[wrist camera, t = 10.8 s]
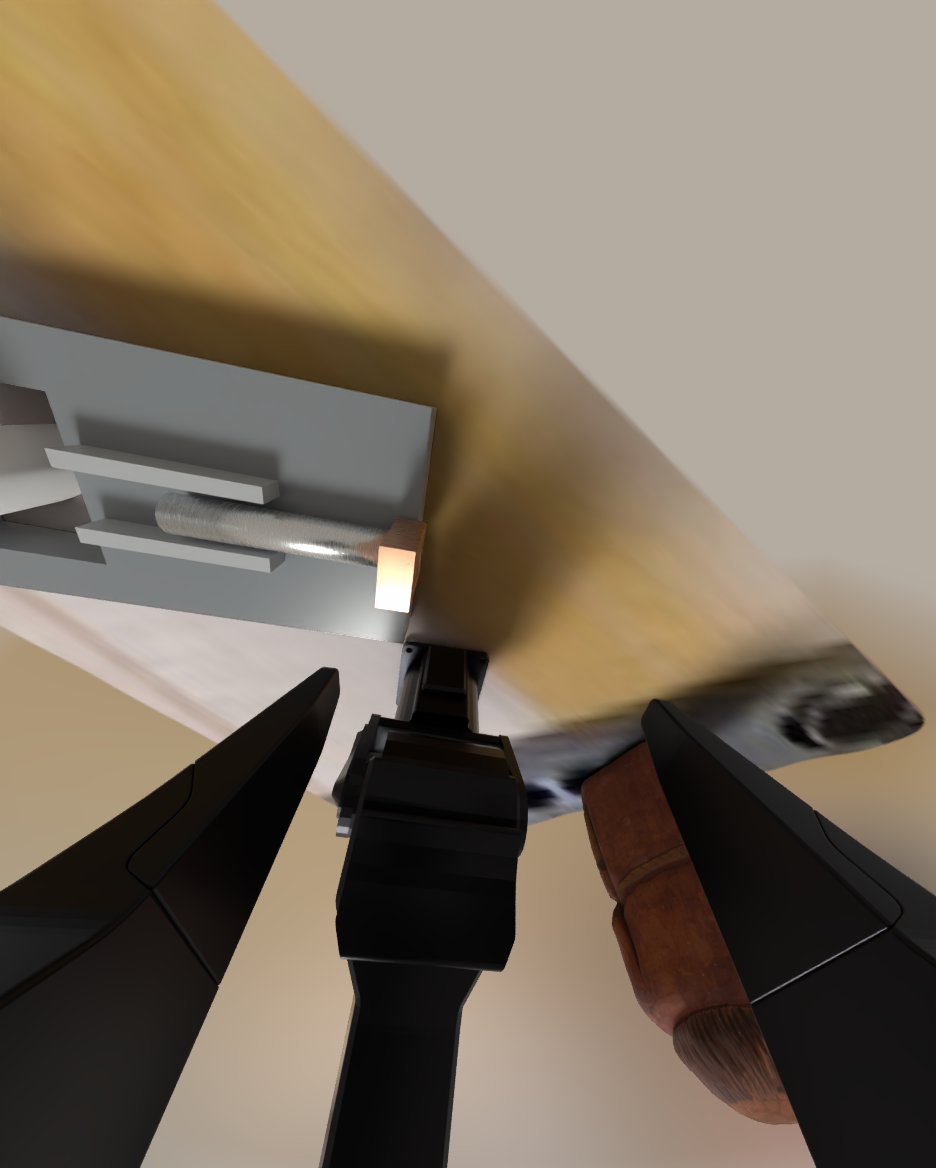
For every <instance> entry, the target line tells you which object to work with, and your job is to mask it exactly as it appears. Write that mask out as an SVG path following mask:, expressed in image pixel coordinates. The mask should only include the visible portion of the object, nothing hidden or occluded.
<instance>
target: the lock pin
mask: <svg viewBox="0 0 936 1168" xmlns="http://www.w3.org/2000/svg"><path fill="white" fill-rule="evenodd" d="M155 517H156V521H157V524H158V526H159V527H160V528H161V529H162V530H163V531H164V532H166V533H168V534H174V535H180V536H186V537H192V538H198V539H204V540H210V541H216V542H222V543H228V544H234V545H241V546H247V547H253V548H259V549H265V550H271V551H277V552H283V553H289V554H295V555H301V556H307V557H313V558H319V559H325V560H332V561H338V562H344V563H350V564H356V565H362V566H368V567H374V568H378V570H377V585H376V601H375V608H382V609H388V610H395V611H401V612H409V609H410V605H411V602H412V599H413V595H414V592H415V588H416V585H417V581H418V578H419V574H420V567H421V560H422V553H423V546H424V537H425V530H426V522H422V521H416V520H410V519H405V518H399V517H397V519H396V520H395V522H394V523H393V525H392V526H391V528H390V530H386V529H380V528H374V527H369V526H363V525H357V524H352V523H346V522H340V521H334V520H329V519H323V518H317V517H312V516H306V515H300V514H295V513H289V512H283V511H277V510H272V509H266V508H260V507H255V506H249V505H243V504H238V503H232V502H226V501H220V500H215V499H209V498H203V497H198V496H192V495H186V494H181V493H175V492H170V493H166V494H165V495H163V496H162V497H161V498H160V499H159V501H158V503H157V505H156V509H155Z"/></svg>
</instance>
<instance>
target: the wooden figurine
mask: <svg viewBox="0 0 936 1168" xmlns="http://www.w3.org/2000/svg"><path fill="white" fill-rule="evenodd" d="M581 796H582V803H583V810H584V818H585V822H586V827H587V830H588V835H589V840H590V844H591V848H592V851H593V854H594V857H595V860H596V863H597V867H598V869H599V871H600V875H601V878H602V880H603V882H604V885H605V887H606V889H607V892H608V893H609V896H610V898H612V899H613V900H615V901H616V902H617V905H616V907H615V909H614V911H613V917H612V927H613V930H614V933H615V935H616V938H617V941H618V944H619V947H620V950H621V954H622V957H623V960H624V963H625V966H626V970H627V972H628V975H629V978H630V981H631V983H632V986H633V990H634V993H635V996H636V999H637V1001H638V1003H639V1005H640V1006H641V1008H642V1009H643V1011H644V1012H645V1013H646V1015H647V1016H648V1017H649V1018H650V1019H651V1020H652V1021H653V1022H654V1023H655V1024H656V1025H657V1026H658V1027H659V1028H661V1029H662V1030H663V1031H664V1032H666V1033H668V1034H669V1035H671V1036H672V1037H673V1044H674V1049H675V1052H676V1053H677V1055H678V1056H679V1058H680V1059H681V1060H682V1061H683V1063H684V1064H685V1065H686V1066H687V1067H688V1068H689V1070H690V1071H692V1072H693V1073H694V1074H695V1075H696V1076H697V1077H698V1078H699V1079H700V1081H701V1082H702V1083H703V1084H704V1085H705V1086H706V1087H707V1088H708V1089H709V1090H710V1091H711V1092H712V1093H713V1094H714V1095H715V1096H716V1097H718V1098H719V1099H721V1100H722V1101H723V1102H725V1103H726V1104H728V1105H729V1106H730V1107H731V1108H733V1109H734V1110H735V1111H737V1112H739V1113H740V1114H742V1115H744V1116H746V1117H749V1118H751V1119H753V1120H756V1121H758V1122H762V1123H766V1124H773V1125H777V1124H796V1123H798V1122H797V1119H796V1117H795V1114H794V1112H793V1109H792V1107H791V1104H790V1102H789V1100H788V1097H787V1095H786V1092H785V1090H784V1087H783V1085H782V1082H781V1080H780V1078H779V1075H778V1073H777V1070H776V1068H775V1065H774V1063H773V1060H772V1058H771V1055H770V1053H769V1051H768V1048H767V1046H766V1043H765V1041H764V1038H763V1036H762V1033H761V1031H760V1029H759V1026H758V1024H757V1021H756V1019H755V1016H754V1014H753V1011H752V1009H751V1006H750V1005H751V1004H750V1003H749V1001H748V999H747V996H746V994H745V991H744V989H743V986H742V984H741V981H740V979H739V977H738V974H737V972H736V969H735V967H734V964H733V962H732V959H731V957H730V955H729V952H728V950H727V947H726V945H725V942H724V940H723V937H722V935H721V932H720V930H719V928H718V925H717V923H716V920H715V918H714V915H713V913H712V910H711V908H710V906H709V903H708V901H707V898H706V896H705V893H704V891H703V888H702V886H701V884H700V881H699V879H698V876H697V874H696V871H695V869H694V866H693V864H692V861H691V859H690V857H689V854H688V852H687V849H686V847H685V844H684V842H683V839H682V837H681V835H680V832H679V830H678V827H677V825H676V822H675V820H674V817H673V815H672V813H671V810H670V808H669V805H668V803H667V800H666V798H665V795H664V793H663V790H662V788H661V785H660V783H659V780H658V777H657V774H656V771H655V768H654V765H653V762H652V758H651V755H650V752H649V748H648V745H647V742H643V743H641V744H639V745H637V746H636V747H634V748H632V749H631V750H630V751H628V752H626V753H625V754H623V755H622V756H621V757H620V758H618V759H616V760H615V761H614V762H612V763H611V764H609V765H608V766H606V767H604V768H603V769H601V770H600V771H598V772H596V773H595V774H594V775H592V776H590V777H589V778H587V779H586V780H584V781H583V783H582V786H581Z"/></svg>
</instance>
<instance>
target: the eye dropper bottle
mask: <svg viewBox="0 0 936 1168" xmlns="http://www.w3.org/2000/svg"><path fill="white" fill-rule="evenodd" d="M57 446H64V443H63V440H62V437H61V435H60V432H59V429H58V426H57V424H29V425H3V426H0V515H3V514H7V513H12V512H16V511H20V510H25V509H29V508H33V507H38V506H42V505H47V504H51V503H55V502H60V501H63V500H67V499H70V498H73V497H75V496H77V495H79V494H81V491H80V488H79V485H78V482H77V480H76V477H75V474H74V471H72V470H66V469H60V468H55V467H51V464H50V462H49V459H48V456H47V454H46V451H45V449H44V448H47V447H57Z"/></svg>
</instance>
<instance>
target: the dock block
mask: <svg viewBox="0 0 936 1168" xmlns="http://www.w3.org/2000/svg"><path fill="white" fill-rule="evenodd" d="M0 383H5V384H10V385H15V386H20V387H26V388H31V389H36V390H41V391H45V393H46V395H47V398H48V401H49V404H50V407H51V409H52V412H53V415H54V418H55V421H56V423H57V426H58V429H59V432H60V435H61V437H62V440H63V443H64V446H57V447H47V448H44V449H45V451H46V454H47V456H48V459H49V462H50V464H51V467H55V468H60V469H66V470H72V471H74V474H75V477H76V480H77V482H78V485H79V488H80V491H81V494H82V496H83V499H84V502H85V505H86V508H87V510H88V513H89V516H90V519H91V522H90V523H87V524H84V525H80V526H77V527H75V529H76V532H77V533H74V532H68V531H62V530H56V529H50V528H43V527H37V526H31V525H25V524H19V523H12V522H6V521H4V519H3V517H2V515H0V585H4V586H10V587H17V588H24V589H31V590H38V591H45V592H52V593H59V594H65V595H72V596H79V597H86V598H93V599H100V600H107V601H113V602H120V603H127V604H134V605H141V606H148V607H155V608H161V609H168V610H175V611H182V612H189V613H196V614H203V615H209V616H216V617H223V618H230V619H237V620H244V621H251V622H257V623H264V624H271V625H278V626H285V627H292V628H299V629H305V630H312V631H319V632H326V633H333V634H340V635H347V636H353V637H360V638H367V639H374V640H381V641H388V642H395V643H401V644H403V643H404V640H405V636H406V632H407V629H408V625H409V621H410V618H411V610H412V602H413V599H412V602H411V605H410V609H409V612H401V611H395V610H388V609H382V608H375V601H376V585H377V570H378V568H374V567H368V566H362V565H356V564H350V563H344V562H338V561H332V560H325V559H319V558H313V557H307V556H301V555H295V554H289V553H283V552H277V551H271V550H265V549H259V548H253V547H247V546H241V545H234V544H228V543H222V542H216V541H210V540H204V539H198V538H192V537H186V536H180V535H174V534H168V533H166V532H164V531H163V530H162V529H161V528H160V527H159V526H158V524H157V521H156V517H155V509H156V505H157V503H158V501H159V499H160V498H161V497H162V496H163V495H165V494H166V493H170V492H175V493H181V494H186V495H192V496H198V497H203V498H209V499H215V500H220V501H226V502H232V503H238V504H243V505H249V506H255V507H260V508H266V509H272V510H277V511H283V512H289V513H295V514H300V515H306V516H312V517H317V518H323V519H329V520H334V521H340V522H346V523H352V524H357V525H363V526H369V527H374V528H380V529H386V530H390V528H391V526H392V525H393V523H394V522H395V520H396V519H397V517H399V518H405V519H410V520H416V521H422V522H423V515H424V507H425V499H426V492H427V484H428V476H429V468H430V460H431V452H432V444H433V436H434V428H435V421H436V413H437V407H432V406H427V405H422V404H418V403H413V402H408V401H403V400H399V399H394V398H389V397H384V396H380V395H375V394H370V393H365V392H361V391H356V390H351V389H346V388H342V387H337V386H332V385H327V384H323V383H318V382H313V381H308V380H304V379H299V378H294V377H289V376H285V375H280V374H275V373H271V372H266V371H261V370H256V369H252V368H247V367H242V366H237V365H233V364H228V363H223V362H218V361H214V360H209V359H204V358H199V357H195V356H190V355H185V354H180V353H176V352H171V351H166V350H161V349H157V348H152V347H147V346H142V345H138V344H133V343H128V342H123V341H119V340H114V339H109V338H104V337H100V336H95V335H90V334H85V333H81V332H76V331H71V330H66V329H62V328H57V327H52V326H47V325H43V324H38V323H33V322H28V321H24V320H19V319H14V318H9V317H5V316H0Z"/></svg>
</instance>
